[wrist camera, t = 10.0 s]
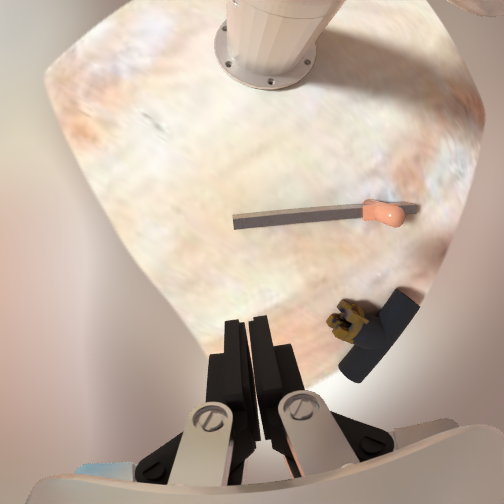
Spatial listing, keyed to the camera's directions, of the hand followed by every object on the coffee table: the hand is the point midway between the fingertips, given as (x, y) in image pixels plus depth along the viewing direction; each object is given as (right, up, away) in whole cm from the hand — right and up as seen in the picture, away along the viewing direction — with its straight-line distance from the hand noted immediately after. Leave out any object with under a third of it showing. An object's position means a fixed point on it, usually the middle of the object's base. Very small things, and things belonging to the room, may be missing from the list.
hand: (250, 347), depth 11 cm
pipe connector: (+17, -7, +29) cm, 35 cm away
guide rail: (+10, +9, +24) cm, 27 cm away
